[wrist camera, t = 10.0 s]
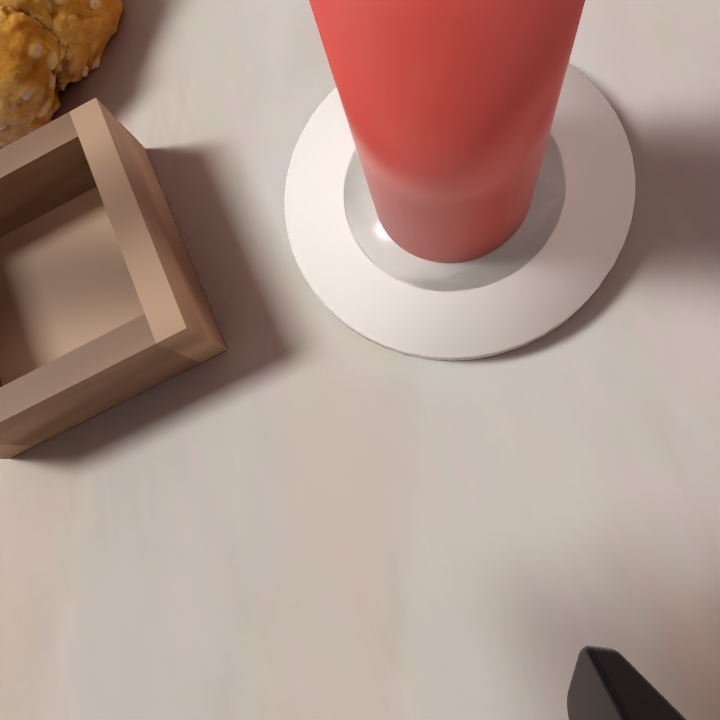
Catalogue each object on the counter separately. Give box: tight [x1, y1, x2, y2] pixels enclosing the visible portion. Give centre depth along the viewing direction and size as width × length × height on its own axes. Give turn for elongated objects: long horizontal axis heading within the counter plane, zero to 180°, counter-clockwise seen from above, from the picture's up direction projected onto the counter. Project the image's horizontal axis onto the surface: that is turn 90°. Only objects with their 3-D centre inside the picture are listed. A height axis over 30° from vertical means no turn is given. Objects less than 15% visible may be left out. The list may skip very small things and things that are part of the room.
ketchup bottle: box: [309, 0, 585, 263], centre depth 12 cm, size 5×5×14 cm
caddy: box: [0, 98, 227, 459], centre depth 19 cm, size 9×9×3 cm
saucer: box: [285, 63, 635, 361], centre depth 19 cm, size 11×11×1 cm
